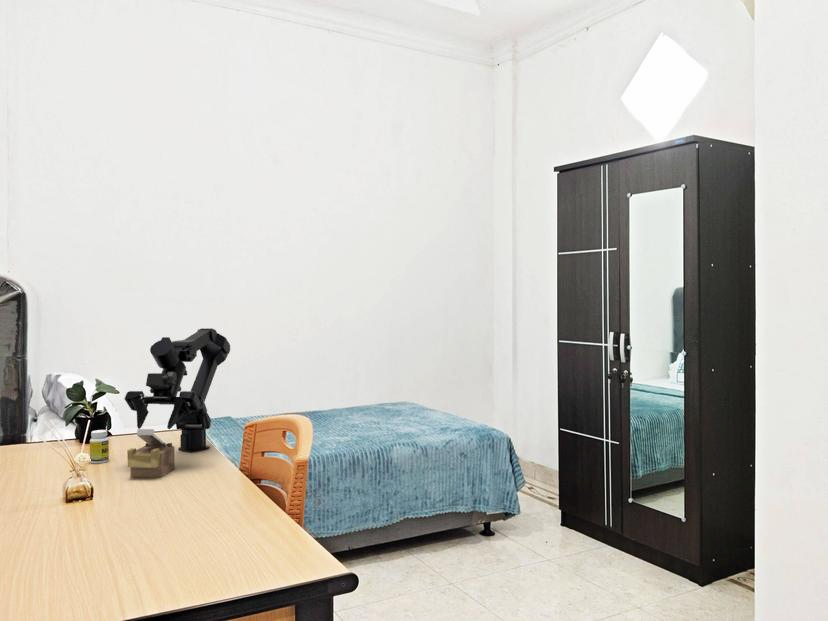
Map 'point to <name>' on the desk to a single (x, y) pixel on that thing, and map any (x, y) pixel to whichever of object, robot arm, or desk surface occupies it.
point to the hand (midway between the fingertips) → (153, 428)
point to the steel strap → (150, 437)
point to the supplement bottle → (99, 446)
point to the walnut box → (151, 460)
